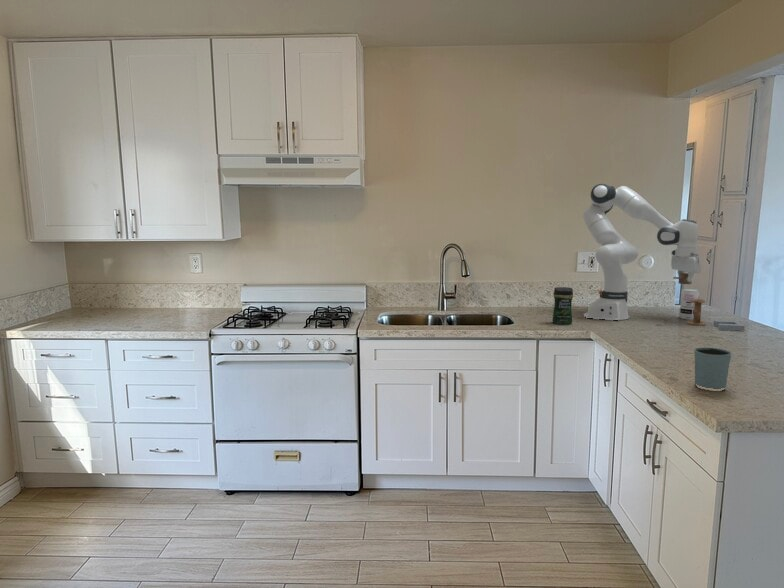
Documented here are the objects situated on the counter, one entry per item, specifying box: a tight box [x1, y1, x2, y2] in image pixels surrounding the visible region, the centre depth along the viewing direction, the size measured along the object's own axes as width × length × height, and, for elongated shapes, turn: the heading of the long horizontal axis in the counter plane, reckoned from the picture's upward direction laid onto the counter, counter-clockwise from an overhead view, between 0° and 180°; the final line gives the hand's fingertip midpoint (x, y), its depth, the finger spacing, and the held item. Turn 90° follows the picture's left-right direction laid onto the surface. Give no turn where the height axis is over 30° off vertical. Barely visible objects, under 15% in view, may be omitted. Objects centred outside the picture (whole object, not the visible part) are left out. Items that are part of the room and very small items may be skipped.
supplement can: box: [679, 288, 700, 321], centre depth 277 cm, size 8×8×15 cm
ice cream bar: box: [672, 272, 693, 285], centre depth 269 cm, size 8×3×5 cm, turn 42°
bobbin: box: [688, 298, 706, 327], centre depth 264 cm, size 7×7×12 cm
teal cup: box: [693, 347, 732, 389], centre depth 172 cm, size 10×10×12 cm
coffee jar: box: [552, 286, 574, 325], centre depth 272 cm, size 10×8×19 cm
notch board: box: [713, 319, 746, 331], centre depth 255 cm, size 10×11×2 cm
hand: (684, 280), depth 268 cm, fingers closed on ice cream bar, 6 cm apart
